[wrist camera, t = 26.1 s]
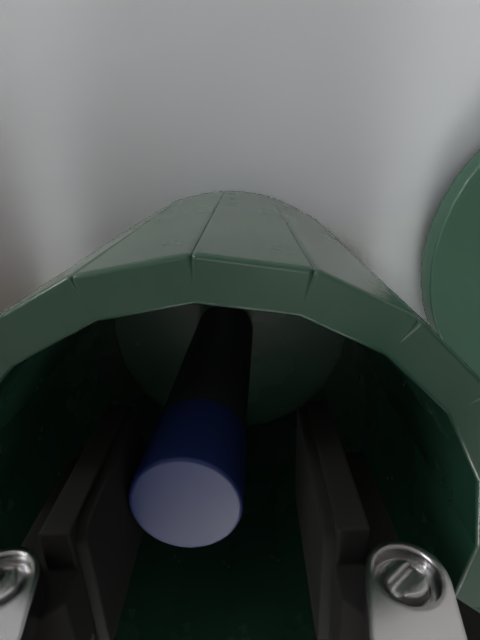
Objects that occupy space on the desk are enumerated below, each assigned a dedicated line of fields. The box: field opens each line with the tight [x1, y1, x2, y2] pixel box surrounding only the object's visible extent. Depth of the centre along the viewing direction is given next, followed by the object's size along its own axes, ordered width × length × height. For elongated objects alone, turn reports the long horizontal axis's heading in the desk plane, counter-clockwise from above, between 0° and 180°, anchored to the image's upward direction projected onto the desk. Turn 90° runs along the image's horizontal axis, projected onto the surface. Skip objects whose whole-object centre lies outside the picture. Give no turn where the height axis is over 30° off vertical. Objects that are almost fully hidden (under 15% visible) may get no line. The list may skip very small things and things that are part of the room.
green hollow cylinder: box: [0, 191, 480, 640], centre depth 14 cm, size 12×12×12 cm
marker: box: [128, 306, 253, 548], centre depth 14 cm, size 2×2×10 cm
